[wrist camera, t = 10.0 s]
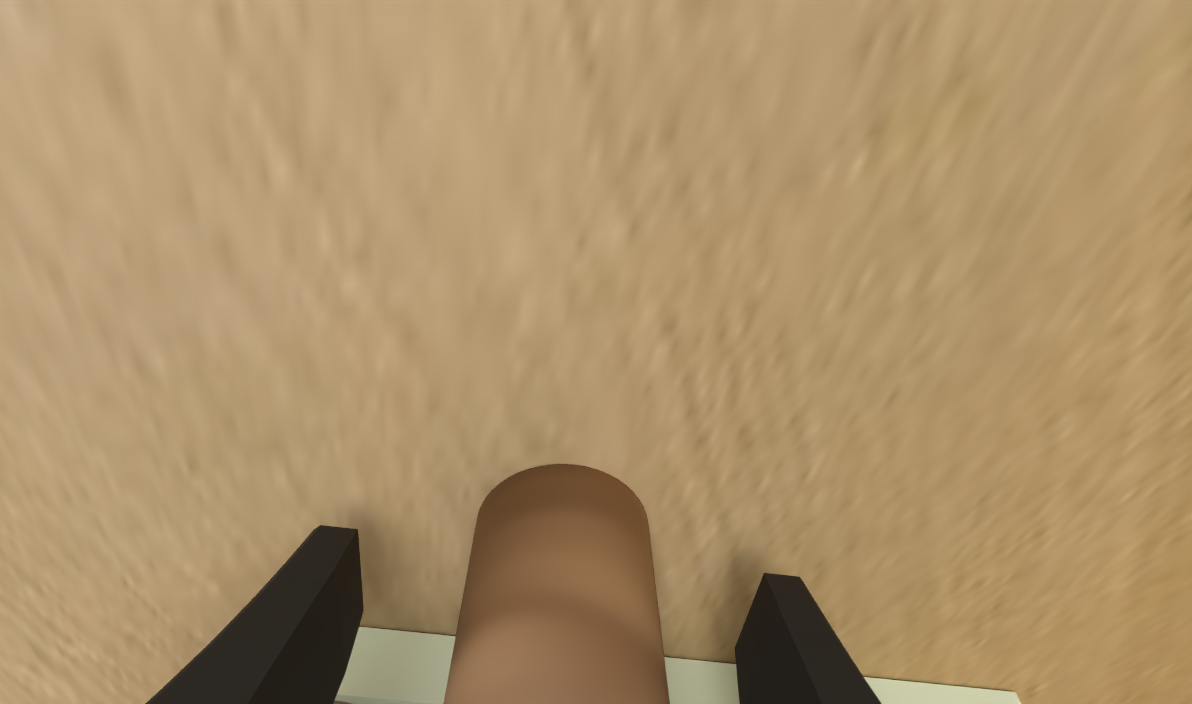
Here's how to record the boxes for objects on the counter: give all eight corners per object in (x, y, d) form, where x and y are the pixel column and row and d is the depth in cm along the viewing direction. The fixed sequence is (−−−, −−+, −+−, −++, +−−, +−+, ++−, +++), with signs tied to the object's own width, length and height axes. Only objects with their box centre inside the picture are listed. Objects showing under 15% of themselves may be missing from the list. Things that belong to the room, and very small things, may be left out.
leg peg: (492, 597, 14) (431, 1049, 8) (460, 472, 12) (356, 926, 6) (653, 583, 14) (705, 1030, 8) (642, 455, 12) (698, 902, 6)
